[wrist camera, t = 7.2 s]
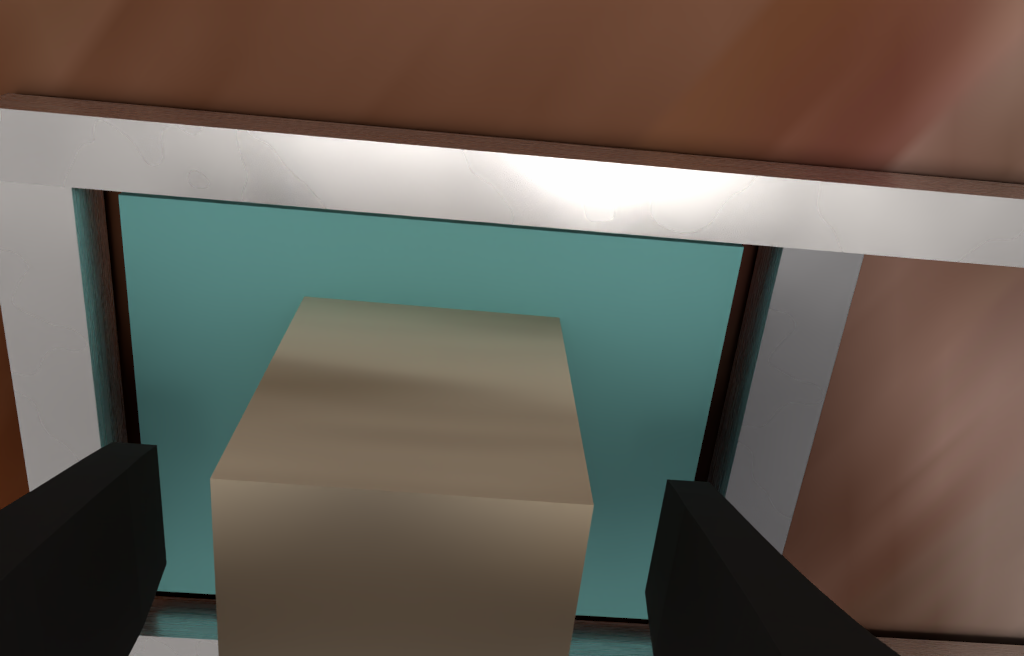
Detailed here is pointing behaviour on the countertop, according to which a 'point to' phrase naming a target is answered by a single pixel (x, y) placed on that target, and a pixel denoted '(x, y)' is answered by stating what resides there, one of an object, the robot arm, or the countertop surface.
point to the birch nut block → (404, 489)
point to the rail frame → (448, 302)
